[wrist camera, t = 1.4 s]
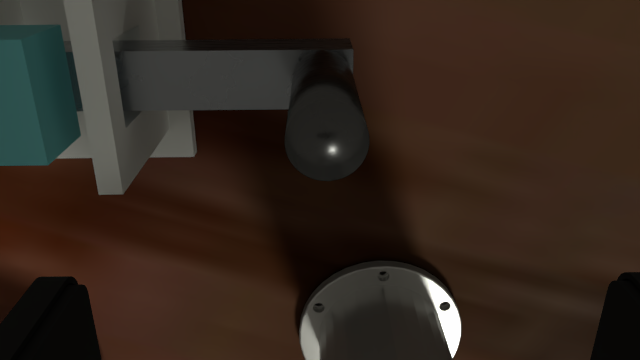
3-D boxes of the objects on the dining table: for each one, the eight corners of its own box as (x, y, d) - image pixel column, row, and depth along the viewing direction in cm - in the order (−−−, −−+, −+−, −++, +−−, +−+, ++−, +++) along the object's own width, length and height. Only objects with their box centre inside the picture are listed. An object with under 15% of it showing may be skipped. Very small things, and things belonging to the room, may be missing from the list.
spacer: (81, 135, 29) (48, 165, 26) (3, 136, 29) (-41, 166, 26) (60, 24, 27) (21, 39, 23) (-25, 25, 27) (-77, 40, 23)
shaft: (349, 93, 32) (368, 180, 21) (-39, 96, 31) (-227, 187, 21) (349, 38, 30) (370, 100, 19) (-54, 42, 30) (-262, 106, 19)
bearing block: (196, 151, 39) (156, 229, 29) (20, 153, 39) (-82, 232, 29) (174, -73, 33) (114, -73, 23) (-33, -71, 33) (-184, -71, 23)
